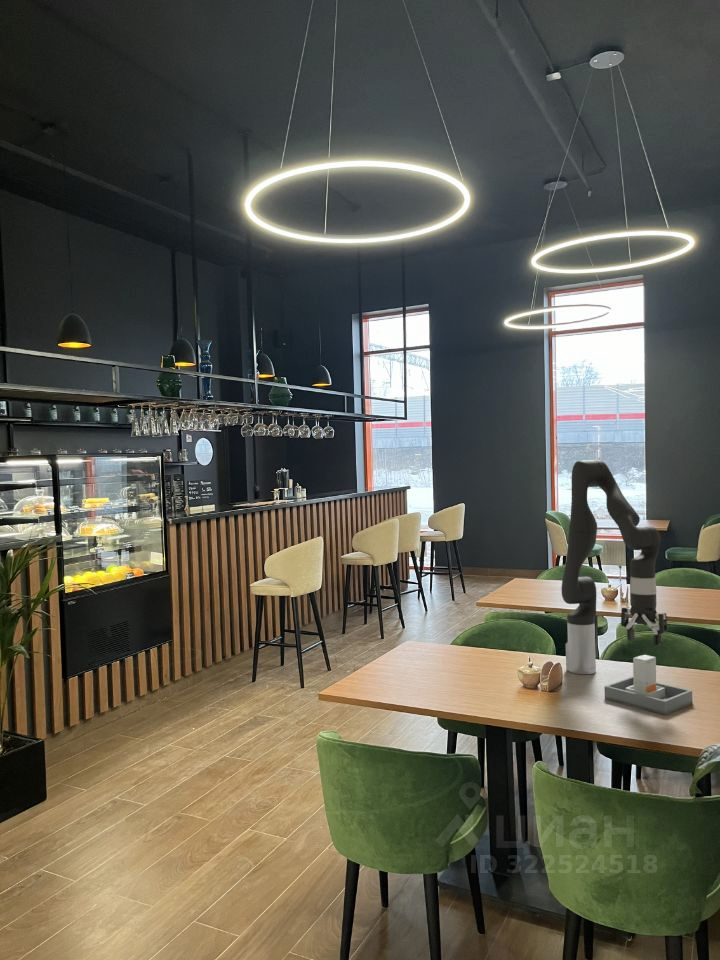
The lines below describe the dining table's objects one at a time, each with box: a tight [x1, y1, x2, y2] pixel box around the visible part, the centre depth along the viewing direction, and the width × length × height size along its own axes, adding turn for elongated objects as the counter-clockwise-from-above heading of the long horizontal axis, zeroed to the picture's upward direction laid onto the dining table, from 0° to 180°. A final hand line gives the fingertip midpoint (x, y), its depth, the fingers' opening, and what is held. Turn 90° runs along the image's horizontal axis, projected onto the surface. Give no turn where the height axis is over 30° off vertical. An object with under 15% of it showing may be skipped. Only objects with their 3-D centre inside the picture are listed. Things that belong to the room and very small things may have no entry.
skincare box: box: [632, 654, 657, 693], centre depth 222 cm, size 6×4×12 cm
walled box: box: [603, 676, 693, 716], centre depth 219 cm, size 20×15×4 cm
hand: (644, 643), depth 221 cm, fingers open, 8 cm apart
